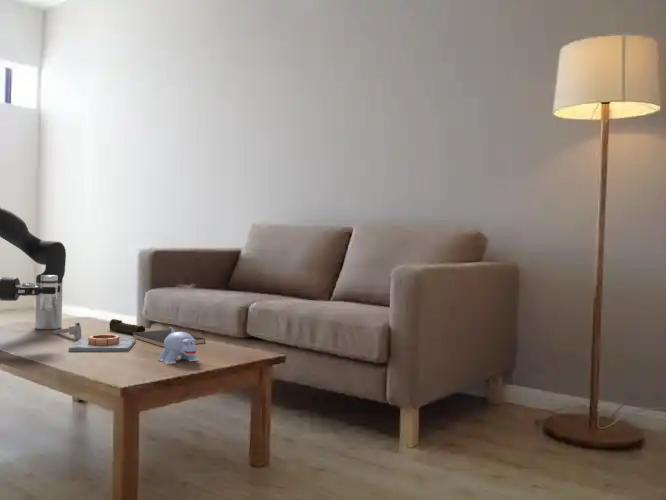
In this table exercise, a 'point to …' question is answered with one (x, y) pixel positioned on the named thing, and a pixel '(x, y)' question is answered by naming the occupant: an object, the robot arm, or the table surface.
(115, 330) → the hand tool
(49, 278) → the steel piston
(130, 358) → the table surface
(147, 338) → the hardcover book
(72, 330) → the caliper
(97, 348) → the grey square base plate
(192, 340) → the hippopotamus toy
